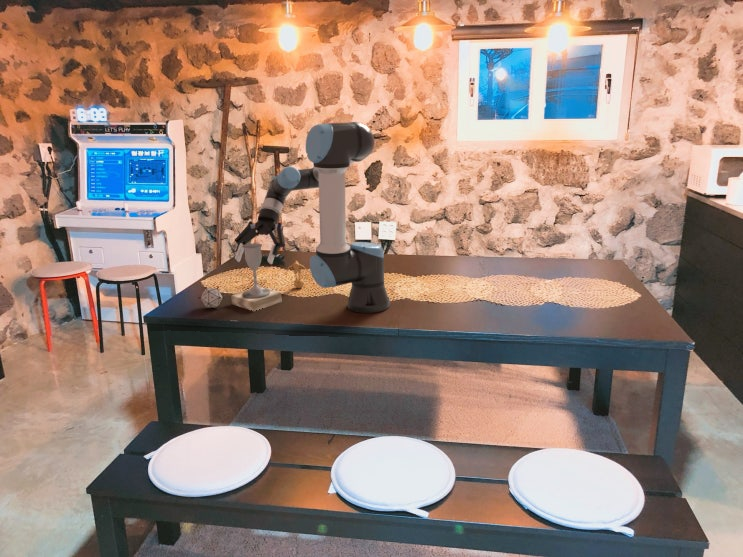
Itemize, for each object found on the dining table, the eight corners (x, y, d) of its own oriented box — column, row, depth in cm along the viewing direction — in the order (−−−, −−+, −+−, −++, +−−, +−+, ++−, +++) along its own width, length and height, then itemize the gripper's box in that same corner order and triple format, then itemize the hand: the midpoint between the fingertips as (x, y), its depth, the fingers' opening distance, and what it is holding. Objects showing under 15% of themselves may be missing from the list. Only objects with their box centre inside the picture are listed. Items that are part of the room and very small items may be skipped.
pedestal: (281, 301, 222) (281, 291, 221) (254, 311, 212) (253, 300, 211) (259, 295, 230) (258, 285, 229) (232, 304, 221) (231, 294, 219)
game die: (214, 319, 217) (207, 304, 208) (198, 308, 220) (190, 292, 212) (231, 302, 221) (225, 287, 212) (215, 291, 224) (208, 276, 216)
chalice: (261, 296, 216) (257, 248, 211) (243, 295, 217) (239, 247, 212) (268, 290, 223) (265, 243, 217) (251, 289, 224) (247, 243, 219)
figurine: (310, 286, 239) (308, 257, 235) (307, 291, 233) (306, 261, 230) (289, 286, 239) (287, 258, 236) (287, 291, 234) (284, 262, 230)
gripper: (303, 219, 225) (287, 268, 216) (246, 217, 233) (228, 264, 224) (295, 208, 219) (279, 258, 210) (237, 206, 227) (219, 253, 218)
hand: (253, 261), depth 217 cm, fingers open, 13 cm apart
